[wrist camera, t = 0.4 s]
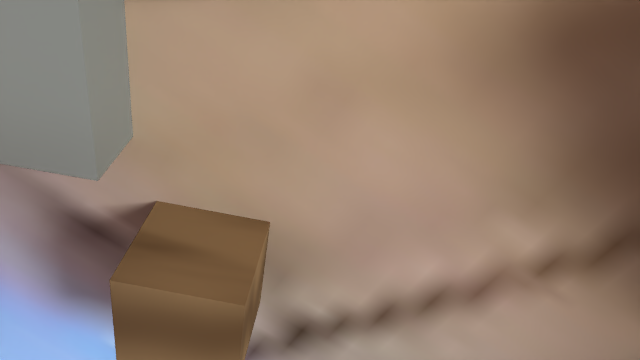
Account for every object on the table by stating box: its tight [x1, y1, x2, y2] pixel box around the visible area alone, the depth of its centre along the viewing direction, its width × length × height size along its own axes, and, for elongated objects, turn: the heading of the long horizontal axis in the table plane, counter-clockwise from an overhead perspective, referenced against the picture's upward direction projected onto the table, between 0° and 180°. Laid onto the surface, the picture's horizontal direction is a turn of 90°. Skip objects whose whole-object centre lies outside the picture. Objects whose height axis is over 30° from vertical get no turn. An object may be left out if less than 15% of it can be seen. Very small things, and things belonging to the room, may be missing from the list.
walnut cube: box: [110, 201, 270, 360], centre depth 24 cm, size 5×5×5 cm
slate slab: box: [0, 0, 133, 181], centre depth 20 cm, size 7×7×4 cm
